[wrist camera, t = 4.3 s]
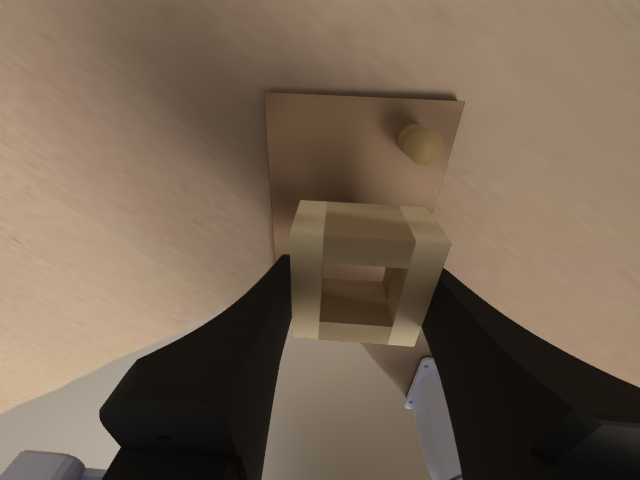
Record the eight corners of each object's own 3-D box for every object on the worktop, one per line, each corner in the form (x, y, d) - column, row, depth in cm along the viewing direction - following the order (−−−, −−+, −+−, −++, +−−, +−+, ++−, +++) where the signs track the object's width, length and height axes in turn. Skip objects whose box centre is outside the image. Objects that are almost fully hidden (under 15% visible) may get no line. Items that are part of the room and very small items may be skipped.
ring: (400, 299, 14) (414, 346, 12) (300, 292, 14) (292, 337, 12) (426, 207, 11) (451, 243, 9) (300, 200, 11) (289, 233, 9)
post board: (406, 286, 22) (423, 334, 18) (278, 277, 22) (265, 323, 18) (457, 100, 15) (507, 105, 10) (268, 92, 15) (240, 93, 11)
